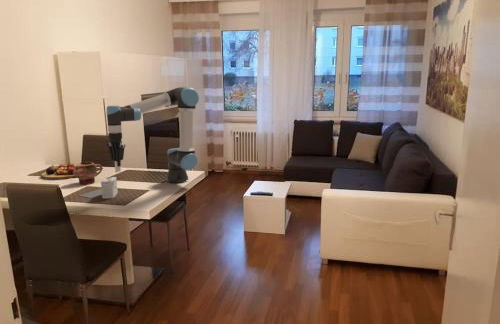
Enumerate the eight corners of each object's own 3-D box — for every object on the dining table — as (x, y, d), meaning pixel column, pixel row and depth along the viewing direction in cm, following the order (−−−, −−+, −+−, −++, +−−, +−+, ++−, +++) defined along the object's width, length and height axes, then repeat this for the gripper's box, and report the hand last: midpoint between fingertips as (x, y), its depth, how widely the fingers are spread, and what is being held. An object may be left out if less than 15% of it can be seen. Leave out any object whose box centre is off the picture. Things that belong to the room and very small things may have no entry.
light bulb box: (107, 193, 240) (105, 177, 238) (118, 193, 241) (116, 176, 238) (102, 198, 230) (100, 181, 227) (113, 198, 230) (111, 181, 228)
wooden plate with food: (91, 176, 285) (90, 165, 284) (44, 182, 268) (42, 170, 266) (83, 168, 311) (82, 158, 310) (39, 174, 294) (38, 163, 292)
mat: (114, 190, 246) (113, 190, 246) (90, 198, 230) (90, 198, 230) (102, 188, 251) (101, 188, 251) (78, 195, 235) (78, 195, 235)
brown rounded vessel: (98, 178, 278) (96, 159, 275) (107, 180, 270) (105, 161, 267) (71, 183, 263) (68, 164, 260) (79, 187, 255) (76, 166, 252)
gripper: (128, 132, 223) (130, 171, 227) (112, 130, 229) (115, 169, 233) (118, 133, 216) (121, 174, 221) (102, 132, 222) (105, 171, 227)
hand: (118, 171), depth 227 cm, fingers closed
